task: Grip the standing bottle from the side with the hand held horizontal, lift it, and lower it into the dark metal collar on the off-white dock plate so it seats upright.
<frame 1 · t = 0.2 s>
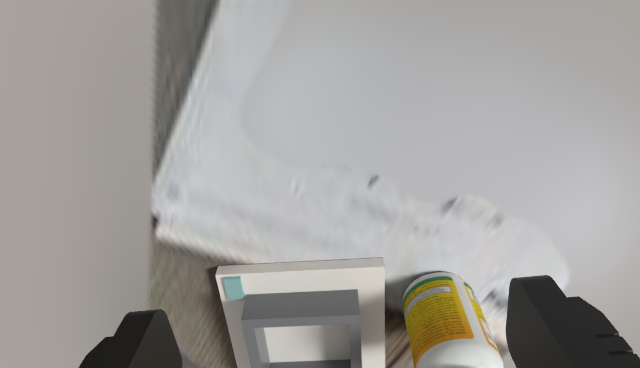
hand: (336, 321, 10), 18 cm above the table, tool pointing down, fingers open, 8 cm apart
dock: (307, 322, 35), on the table
supplement bottle: (435, 294, 33), on the table
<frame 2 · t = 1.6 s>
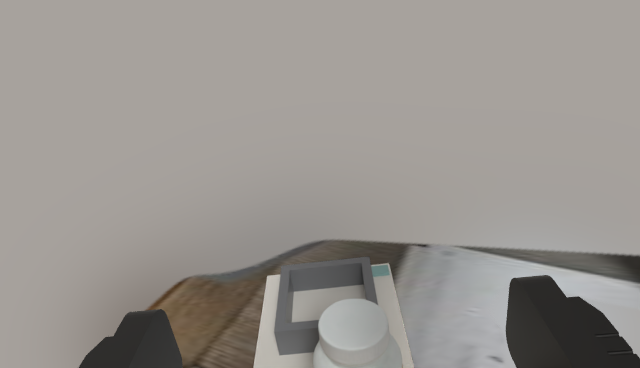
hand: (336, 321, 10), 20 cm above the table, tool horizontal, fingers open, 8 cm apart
dock: (330, 321, 38), on the table
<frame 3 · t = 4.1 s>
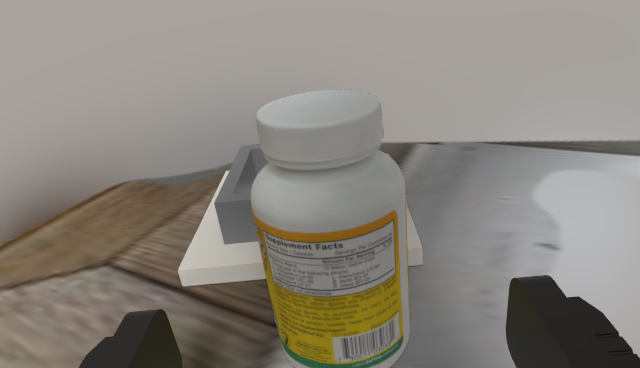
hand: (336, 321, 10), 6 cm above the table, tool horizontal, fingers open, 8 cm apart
dock: (305, 215, 27), on the table
supplement bottle: (345, 336, 18), on the table
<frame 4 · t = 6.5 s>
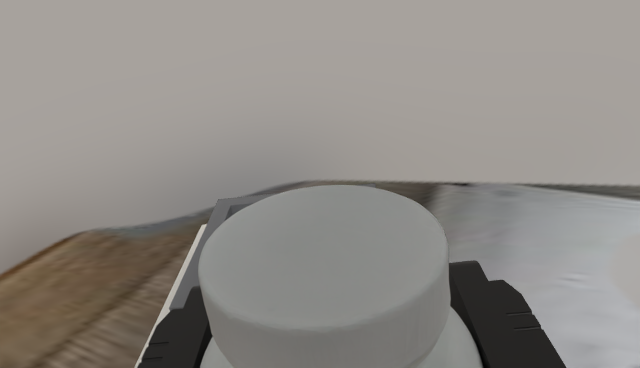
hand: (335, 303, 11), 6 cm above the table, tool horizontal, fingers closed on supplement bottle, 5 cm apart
dock: (301, 298, 20), on the table
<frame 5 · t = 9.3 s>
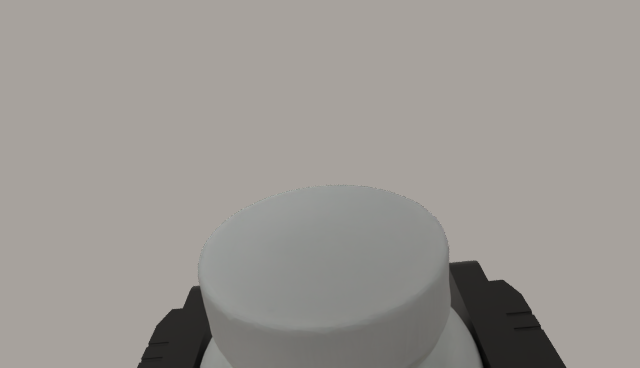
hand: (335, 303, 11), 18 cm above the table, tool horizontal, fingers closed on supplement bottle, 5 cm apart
when the fingers open (8 cm above the table, at t = 12.4 s): supplement bottle drops 1 cm, resting on dock.
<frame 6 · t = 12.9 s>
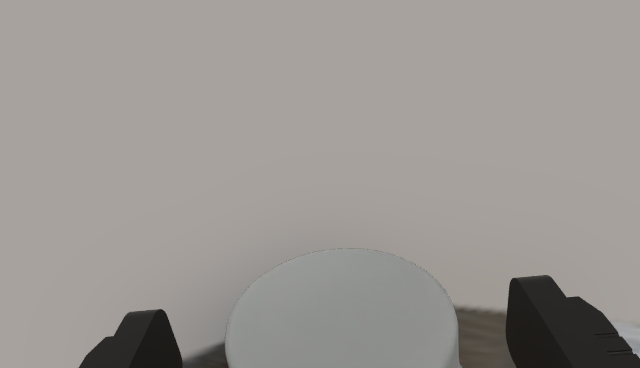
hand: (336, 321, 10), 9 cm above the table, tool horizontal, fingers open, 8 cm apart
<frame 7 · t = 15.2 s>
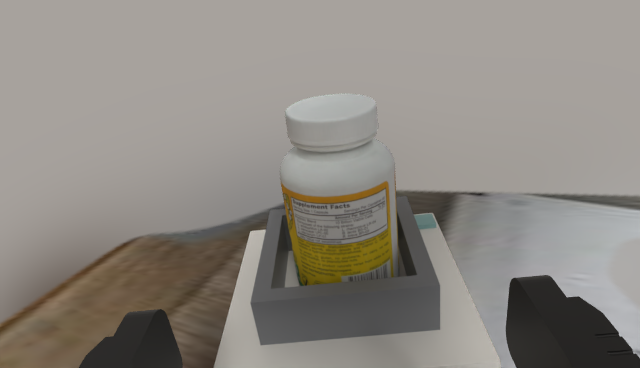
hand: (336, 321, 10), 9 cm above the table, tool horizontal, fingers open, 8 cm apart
dock: (346, 294, 24), on the table
supplement bottle: (349, 284, 23), point 1 cm above the table, touching dock
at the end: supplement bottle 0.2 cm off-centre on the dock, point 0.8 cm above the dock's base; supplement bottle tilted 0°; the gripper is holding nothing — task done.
